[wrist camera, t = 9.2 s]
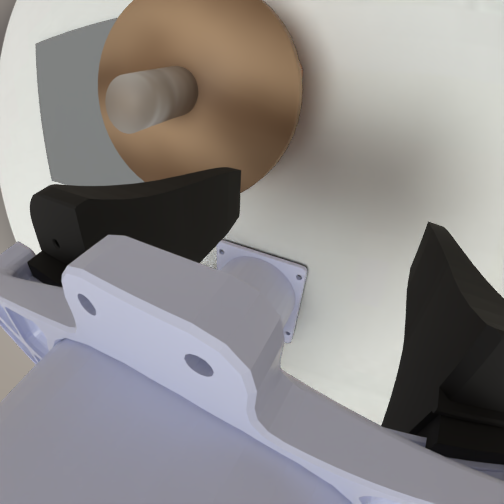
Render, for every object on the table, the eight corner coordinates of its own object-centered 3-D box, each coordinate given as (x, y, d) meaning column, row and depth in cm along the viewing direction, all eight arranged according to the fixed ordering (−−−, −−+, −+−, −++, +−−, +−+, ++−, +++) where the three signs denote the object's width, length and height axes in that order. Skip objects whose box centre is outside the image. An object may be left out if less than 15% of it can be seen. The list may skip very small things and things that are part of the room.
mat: (155, 208, 29) (153, 210, 29) (54, 179, 35) (51, 180, 35) (148, 12, 19) (144, 11, 18) (38, 43, 24) (35, 43, 24)
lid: (285, 223, 19) (250, 269, 15) (113, 175, 23) (66, 201, 19) (315, -25, 10) (279, -56, 7) (107, -3, 15) (49, -1, 11)
